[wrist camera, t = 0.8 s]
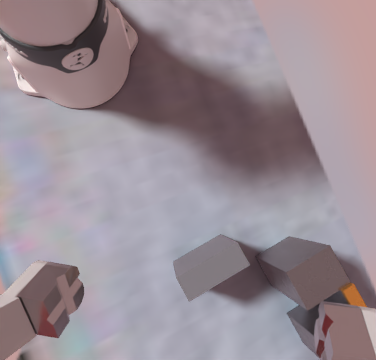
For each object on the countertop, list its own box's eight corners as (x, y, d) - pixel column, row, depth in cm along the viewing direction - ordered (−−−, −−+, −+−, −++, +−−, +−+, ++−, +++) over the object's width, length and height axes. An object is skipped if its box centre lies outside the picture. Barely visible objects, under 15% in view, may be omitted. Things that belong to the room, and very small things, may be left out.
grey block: (172, 261, 43) (176, 277, 33) (220, 234, 44) (237, 241, 34) (182, 280, 43) (189, 301, 33) (230, 252, 44) (250, 265, 34)
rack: (255, 256, 44) (288, 273, 33) (289, 236, 45) (332, 246, 33) (302, 342, 44) (353, 390, 32) (336, 320, 44) (396, 359, 33)
